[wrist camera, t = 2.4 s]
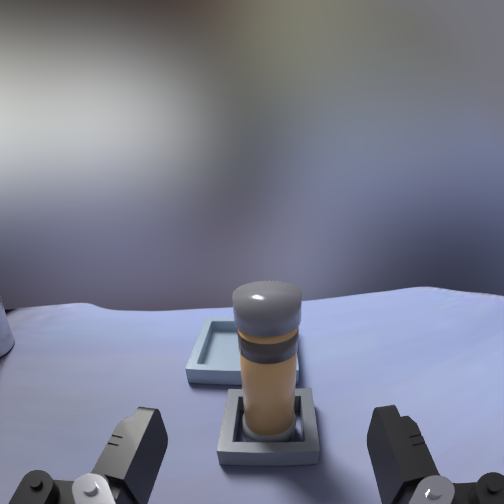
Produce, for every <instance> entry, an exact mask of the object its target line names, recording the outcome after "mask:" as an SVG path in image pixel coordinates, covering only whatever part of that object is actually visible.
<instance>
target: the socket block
mask: <svg viewBox="0 0 504 504" xmlns="http://www.w3.org/2000/svg"><path fill="white" fill-rule="evenodd" d="M294 410H300V419H301V431H302V442H269V443H261V442H236V437H237V430H238V422H239V414H240V411H244V404H243V392H242V389H228V393H227V399H226V404H225V409H224V415H223V420H222V426H221V431H220V436H219V442H218V447H217V455H218V459H219V464H224V465H245V466H288V465H309V464H318V459H319V454H320V446H319V438H318V431H317V423H316V416H315V409H314V402H313V396H312V389H311V388H300V389H295V405H294Z"/></svg>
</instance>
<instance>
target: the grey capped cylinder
mask: <svg viewBox="0 0 504 504" xmlns="http://www.w3.org/2000/svg"><path fill="white" fill-rule="evenodd" d="M301 297H302V293H301V290H300V289H299V288H298V287H296V286H295V285H292V284H289V283H286V282H281V281H257V282H252V283H248V284H245V285H242V286H240V287H238V288H237V289H236V290H235V291H234V292H233V309H234V322H235V325H236V327H237V335H238V348H239V352H240V366H241V379H242V392H243V404H244V415H243V431H244V438H245V440H246V441H247V442H261V443H269V442H292V440H293V438H294V436H295V425H296V415H295V413H294V405H295V386H296V364H297V350H298V326H299V325H300V322H301Z"/></svg>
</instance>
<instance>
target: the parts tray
mask: <svg viewBox="0 0 504 504" xmlns="http://www.w3.org/2000/svg"><path fill="white" fill-rule="evenodd" d="M186 374H187V379H188V383H201V384H223V385H242V379H241V366H240V352H239V348H238V335H237V327H236V325H235V322H234V318H205V321H204V323H203V326H202V328H201V331H200V333H199V336H198V338H197V341H196V344H195V346H194V349H193V351H192V354H191V356H190V359H189V361H188V364H187V366H186ZM298 380H299V365H298V357H297V364H296V384H298Z"/></svg>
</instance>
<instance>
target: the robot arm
mask: <svg viewBox="0 0 504 504" xmlns="http://www.w3.org/2000/svg"><path fill="white" fill-rule="evenodd" d="M13 345H14V338H13V335H12V332H11V329H10V326H9V323H8V320H7V317H6V314H5V311H4V308H3V304H2V301H1V298H0V357H1V356H3V355H4V354H6V353H7V352H8V351H9V350H10V349H11V348H12V346H13ZM167 444H168V436H167V432H166V429H165V426H164V423H163V420H162V417H161V414H160V411H159V410H158V409H153V408H146V407H138V408H137V410H136V412H135V414H134V415H133V417H132V418H128V417H126V418H125V419H124V420H122V421H121V422H120V423H119V424H118V425H117V426H116V428H115V430H114V431H113V433H112V437H110V439H109V441H108V444H106V446H105V448H104V450H103V452H102V454H101V456H100V457H99V459H98V461H97V463H96V465H95V467H94V469H93V470H92V472H91V473H90V474H84V475H82V476H80V477H78V478H77V479H76V480H75V481H61V480H53V479H52V478H51V476H50V475H49V474H48V473H46V472H45V471H42V470H34V471H31V472H29V473H27V474H26V475H25V476H24V477H23V479H22V481H21V483H20V484H19V486H18V488H17V490H16V491H15V493H14V495H13V497H12V498H11V500H10V502H9V504H147V503H148V500H149V497H150V495H151V492H152V489H153V486H154V483H155V480H156V477H157V475H158V472H159V469H160V466H161V463H162V460H163V457H164V455H165V452H166V449H167ZM367 447H368V451H369V455H370V459H371V462H372V466H373V470H374V474H375V478H376V482H377V485H378V489H379V493H380V498H381V502H382V504H504V476H503V475H502V474H499V473H496V472H491V473H487V474H485V475H483V476H482V477H481V478H480V479H479V480H478V481H477V482H474V483H452V482H451V481H450V480H449V479H448V478H446V477H443V476H440V474H439V473H438V470H437V468H436V466H435V463H434V461H433V459H432V456H431V454H430V452H429V450H428V447H427V445H426V444H425V441H424V438H423V436H421V432H420V430H419V428H418V425H417V423H415V422H414V421H413V420H412V419H411V418H410V417H409V416H403V417H400V414H399V412H398V410H397V408H396V406H395V405H390V406H384V407H377V408H375V409H374V411H373V415H372V419H371V422H370V426H369V430H368V433H367Z"/></svg>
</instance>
